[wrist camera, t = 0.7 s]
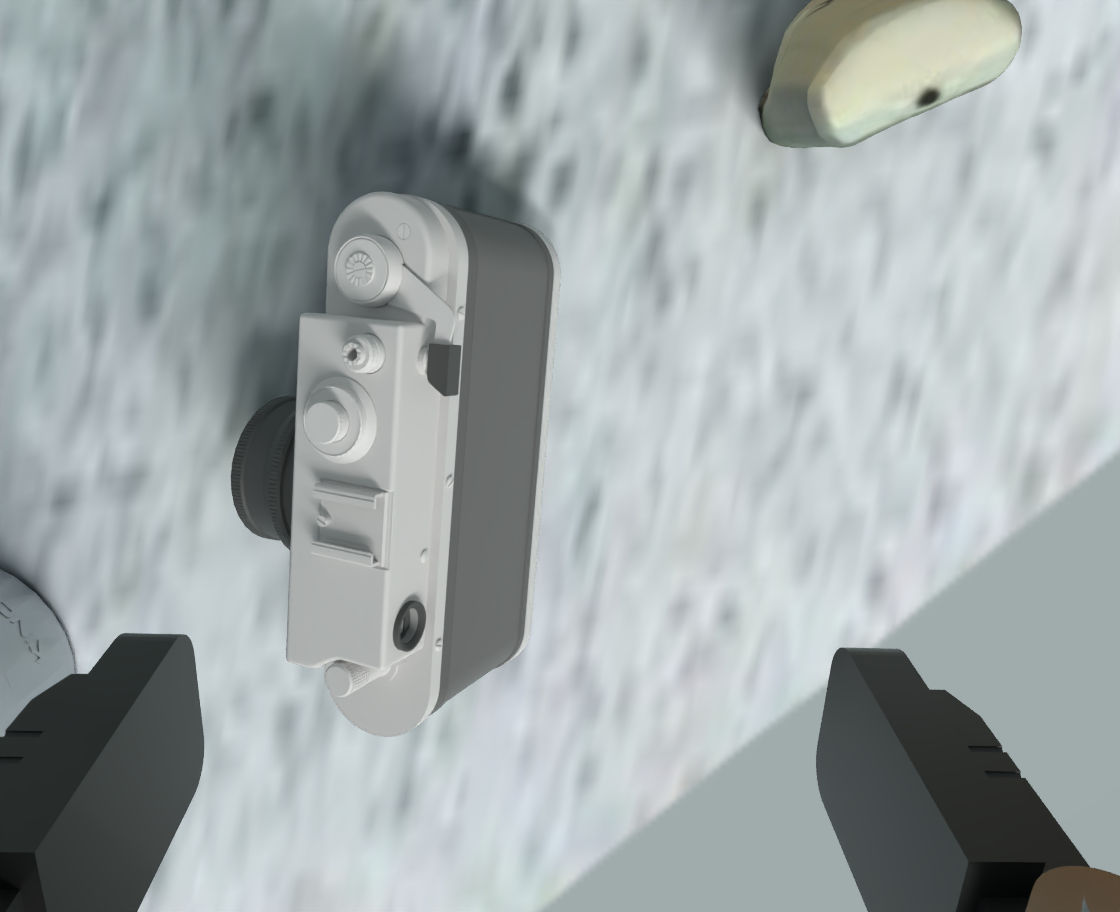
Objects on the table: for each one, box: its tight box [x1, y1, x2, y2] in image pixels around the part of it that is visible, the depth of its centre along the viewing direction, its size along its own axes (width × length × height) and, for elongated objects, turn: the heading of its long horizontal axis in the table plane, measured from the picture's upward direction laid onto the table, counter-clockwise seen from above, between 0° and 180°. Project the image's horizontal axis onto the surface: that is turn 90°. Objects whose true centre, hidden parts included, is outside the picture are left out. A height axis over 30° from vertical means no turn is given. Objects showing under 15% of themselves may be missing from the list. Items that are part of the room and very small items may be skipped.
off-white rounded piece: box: [758, 0, 1022, 148], centre depth 28 cm, size 6×5×8 cm
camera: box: [231, 191, 561, 737], centre depth 30 cm, size 9×16×10 cm, turn 176°
